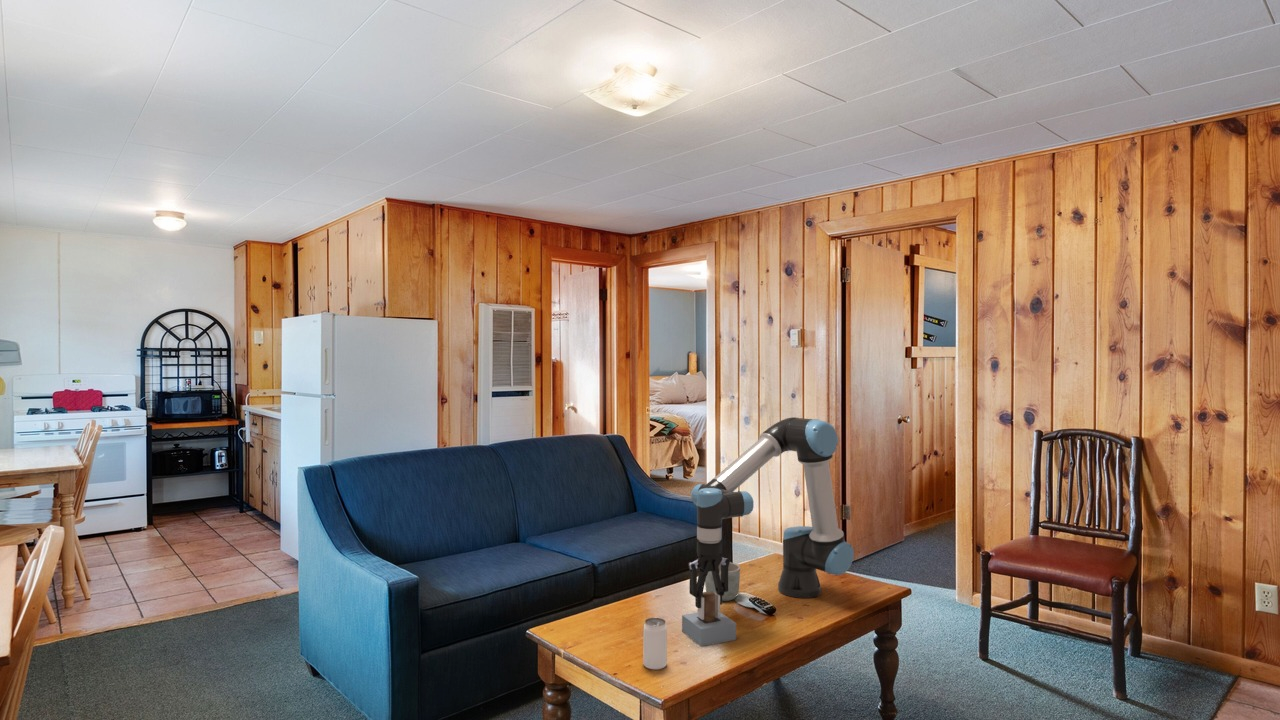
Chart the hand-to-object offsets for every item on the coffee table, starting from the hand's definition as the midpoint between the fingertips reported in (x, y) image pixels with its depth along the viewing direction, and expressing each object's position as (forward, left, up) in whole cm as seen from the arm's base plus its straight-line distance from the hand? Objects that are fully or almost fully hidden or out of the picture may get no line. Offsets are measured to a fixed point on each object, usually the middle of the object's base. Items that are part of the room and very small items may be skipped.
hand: (708, 616), depth 208 cm
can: (+24, +12, -6) cm, 27 cm away
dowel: (0, 0, -5) cm, 5 cm away
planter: (-21, -27, -6) cm, 35 cm away
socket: (0, 0, -6) cm, 6 cm away
